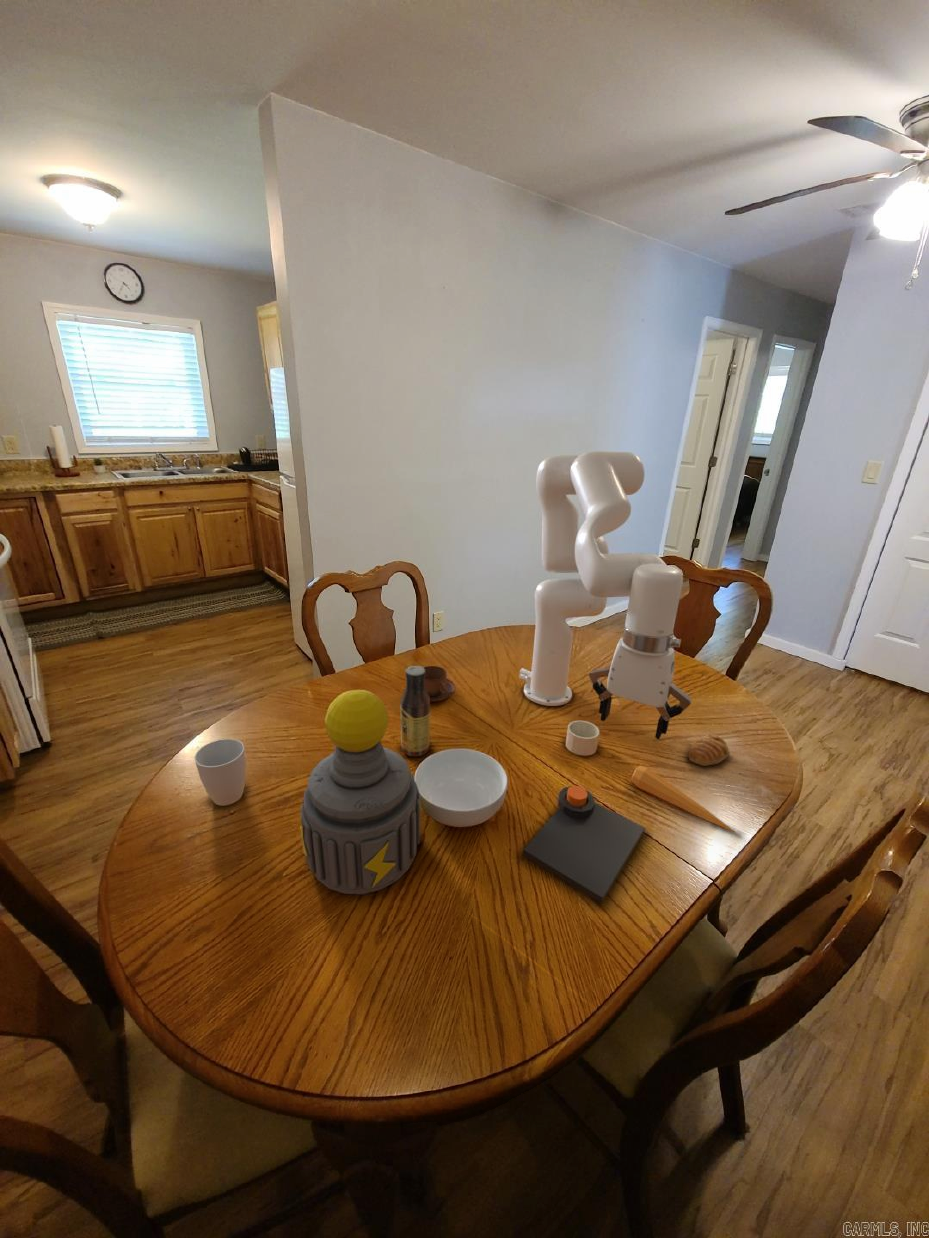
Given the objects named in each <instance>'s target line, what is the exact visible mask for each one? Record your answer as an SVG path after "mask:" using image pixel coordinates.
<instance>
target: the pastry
mask: <svg viewBox="0 0 929 1238" xmlns="http://www.w3.org/2000/svg"><path fill="white" fill-rule="evenodd" d="M730 755H731V752H730V750H729V747H728V744H727V742H726V740H725V739H723V738H722V737H720V736H718V735H713V734H706V735H704V736H702V737H700V738H697V739H696V740H695V741H694V742H693V743H692V744H691V746H690V749H689V752H688V758H689V759H688V760H690V761H691V762H693V763H695V764H697V765H700V766H703V767H709V766H714V765H718V764H719V763H721V762H722V761H725V760H726V759H727V758H728V757H729V756H730Z"/></svg>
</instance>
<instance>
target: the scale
mask: <svg viewBox="0 0 929 1238" xmlns="http://www.w3.org/2000/svg"><path fill="white" fill-rule="evenodd" d="M571 786H572V785H568V786H565V787H563V788H562V789H561V790H560V791H559V792H558V796H557V806H558V809H557V810H556V812H554V813H553V815H552V816H551V817H550V818H549V819H548V820H547V822H546V823H545V824H544V825H543V827H542V828H541V829H540V830H539V831H538V832H537V833H536V835H534V837H533V838H532V839H531V840H530V841H529V843H528V844H527V845H526V846H525V847H524V849H523V852H522V856H523V857H525V858H526V859H528V860H529V861H531V862H532V863H534V864H535V865H537V866H539V867H540V868H542V869H544V870H546V871H547V872H549V874H552V875H553V876H555V877H557V878H559V879H560V880H561V881H563V882H565V883H567V884H568V885H570V886H571V887H572V888H574V889H576V890H578V891H579V892H581V893H583V894H584V895H585V896H587V897H589V898H590V899H592V900H594V901H595V902H597V903H599V904H600V905H602V904H603V903H604V901H605V900H606V898H607V896H608V895H609V893H610V892H611V890H612V888H613V886H614V884H615V883H616V882H617V880H618V878H619V876H620V875H621V873H622V871H623V869H624V868H625V866H626V865H627V863H628V861H629V860H630V858H631V856H632V854H633V853H634V851H635V849H636V848H637V846H638V844H639V843H640V841H641V839H642V838H643V837H644V834H645V832H646V831H645V830H646V827H644V826H642V825H641V824H639V823H636V822H635V821H632V820H631V819H628V818H627V817H625V816H623V815H620V814H619V813H617V812H614V810H613V811H612V810H610V809H609V808H606V807H604V806H602V805H601V804H599V803H596V801H595V797H594V795H593V794H592V793H591V792H590V791H589V790H588V789H585V790H586V791H587V794H588V795H587V801H586V804H585V805H584V806H582V807H577V806H573V805H571V804H570V803H569V802H568V801H567V791H568V788H569V787H571Z"/></svg>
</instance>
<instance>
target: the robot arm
mask: <svg viewBox="0 0 929 1238" xmlns="http://www.w3.org/2000/svg"><path fill="white" fill-rule="evenodd" d="M535 477H536V478H535V486H536V487H535V488H536V494H537V499H538V503H539V507H540V510H541V564H542V567H543V569H544V570H545V571H547V572H548V573H551V574H552V573H554V574H579V576H580V577H578V578H576V577H575V578H572V577H569V578H567V577H565V578H550V579H546V580H543V581H541V582H539V584H538V585H537V586H535V587H536V588H535V590H534V608H535V627H534V628H535V629H534V641H533V650H532V660H531V661H532V663H531V671H530V670H528V669H525V668H523V667H522V668H520V670H519V675H518V679H519V680H521V681H525V684H524V686H523V694H524V696H525V697H526V698H527V699H528V700H529V701H531V702H532V703H535V704H537V705H541V706H547V707H558V706H563V705H566V704H568V703H569V702H570V701H571V700H572V698H573V691H572V689H571V687H569V686H568V681H569V675H570V667H571V658H572V650H573V641H574V633H573V630H572V628H571V626H570V625H569V624H568V622H567V621H566V619H570V618H571V619H572V618H583V617H584V618H585V617H587V618H588V617H596V616H599V615H601V614H603V612H604V611H605V610H606V607H607V603H608V602H607V601H608V598H622V597H624V598H625V597H629V598H628V603H627V610H626V617H625V623H624V628H623V635H622V637H620V639H619V640H618V642H617V644H616V647H615V650H614V652H613V657H612V659H611V662H610V663H611V664H610V666H609V667H608V666H607V667H603V668H598V669H592V670H591V671H590V672H589V674H588V677H589V680H590V682H591V685H592V688H593V690H594V692H595V693H596V695H598V700H599V701H600V703H599V709H598V713H599V714H600V721H601V722H606V720H607V719H608V717H609V716H610V713H611V707H612V701H613V696H616V697H619V698H622V699H624V700H625V699H626V700H628V701H631V702H635V703H637V704H638V703H639V704H642V705H645V706H649V707H652V708H656V709H657V711H658V713H659V715H660V716H659V717H658V720H657V725H656V731H655V735H654V738H655V739H656V740H660V739H661V737H662V735H667V732H668V729H669V724H670V720H671V719H673V718H675V717H677V716H679V715H681V714H682V713H683V712H684V711H685V710H686V709H687V708H689V706H690V705H691V704H692V702H693V699H692V697H691V696H689V694H688V693H685V692H684V691H683V690H682V689H680V688H679V687H678V686H677V685H675V684H674V683H673V680H674V675H675V674H674V673H675V663H676V662H675V661H676V660H675V657H676V656H675V649H674V648H680V646H681V643H682V639H681V638H680V639H679V638H677V637H675V635H674V628H675V622H676V619H677V613H678V608H679V605H680V604H679V603H680V599H681V594H682V587H683V583H684V582H683V581H684V576H683V573H682V571H680V570H679V569H677V568H676V567H674V566H671V565H667V563H666V562H665V561H664V560H663V559H662V558H661V557H660V556H658V555H657V554H654V553H650V552H649V553H646V552H638V553H637V552H636V553H635V552H634V553H632V552H627V553H624V552H623V553H622V552H621V553H619V552H618V553H616V552H615V553H610V552H609V546H608V542H607V541H606V539H605V538H604V536H605V535H607V534H610V533H612V532H614V531H615V530H618V529H619V528H620V527H622V526H623V525H624V524H625V523H626V522H627V521H628V519H629V517H630V516H631V513H632V505H631V502H630V500H629V498H628V496H632V495H634V494H636V493H637V492H639V491H640V489H641V488H642V486H643V484H644V480H645V467H644V464H643V462H642V460H641V458H640V457H639V456H638V455H637V454H636V453H633V452H628V451H601V450H599V451H598V450H597V451H596V450H595V451H587V452H584V453H582V454H580V455H578V454H577V455H576V454H575V455H574V454H573V455H572V454H565V455H563V454H562V455H561V454H559V455H554V456H549V457H547V458H545V459H542V461H541V462H540V463H539V465H538V467H537V470H536V476H535ZM569 495H571V496H577V499H578V502H579V505H580V508H581V510H582V512H583V517H584V519H585V520H584V522H582V525H581V526H580V528H579V520H580V519H579V518H580V516H579V511H578V509H577V507H576V505H575V503H574V501H572V499H571V498H570V497H569ZM604 677H605V678H607V681H606V687H605V685H604V684H603V682H602V681H601V678H604ZM670 696H672V697H673V698H674V699H676V700H677V701H678V703H677V704H675V705H671V704H670V702H669V700H668V699H670Z"/></svg>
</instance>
